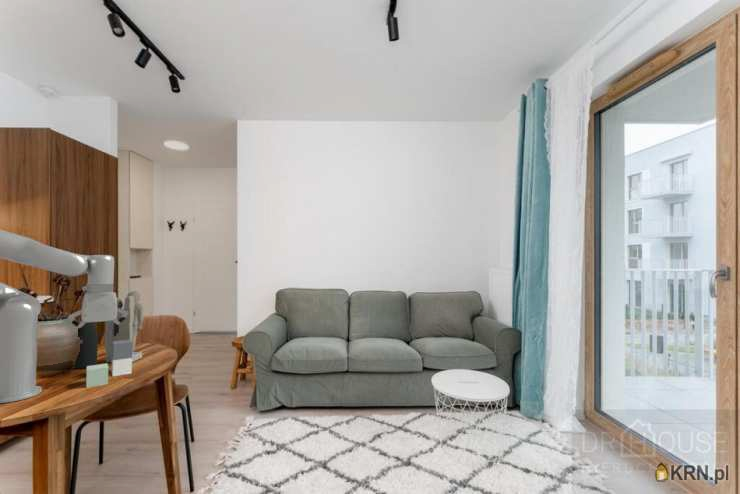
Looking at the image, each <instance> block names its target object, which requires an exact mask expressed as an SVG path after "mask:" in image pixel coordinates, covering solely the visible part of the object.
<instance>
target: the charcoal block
mask: <svg viewBox="0 0 740 494" xmlns="http://www.w3.org/2000/svg"><path fill="white" fill-rule="evenodd" d="M132 345H133V342H132V341H131V339H130V340H121V341H113V342H112V358H113V360H120V359H127V358H132Z"/></svg>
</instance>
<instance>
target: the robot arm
mask: <svg viewBox="0 0 740 494" xmlns="http://www.w3.org/2000/svg"><path fill="white" fill-rule="evenodd" d="M0 259H1V260H2V259H3V260H6V261H10V262H13V263H16V264H20V265H24V266H30V267H33V268H37V269H41V270H45V271H48V272H53V273H56V274H59V275H64V276H68V277H77V276H81V275H87V285H85V286H82V287H81V290H82V291H86V292H85V293H86V294H85V295H84V298H83V297H82V304H81V305H82V306H81V309H80V310H77V311H75V312H73V313H72V314H68V316H67V317H68V319H69V321H70V322H71V324H72V325H74V326H75V327H78V337H80V340H82V339H83V325H84V324H85V323H86V322H93V323H97V322H100V323H101V322H105V321H114V322H115V324H114V330H113V335H114V336H117V333H119V324H120V323H121V322H122V321H123V320H125V318H126V316H127V315H128V312H127V311H125V310H122V309H123V308H121V309H119V308H117V298H118V296H117V293H116V292H114V282H115V281H114V278H115V257H114V256H113V255H110V254H93V255H89V254H88V255H87V254H80V253H79V254H78V253H74V252H70V251H67V250H64V249H60V248H57V247H55V246H54V247H53V246H49V245H47V244H43V243H42V242H39V241H37V240H35V239H33V238H30V237H27V236H24V235H23V236H22V235H21V234H20V235H19V234H17V233H13V232H9V231H6V230H3V229H0ZM41 311H42V305H41V302H40V301H39V299H37V298H36V297H34V296H32V295H31V294H28V293H26V292H24V291H22V290H18V289H17V288H14V287H12V286H9V285H8V284H5V283H4V282H0V404H5V403H13V402H17V401H23V400H26V399H29V398H33V397H35V396H37V395H39V394H41V392H43V391H42V389H43V387H42V386H39V385H36V384H37V361H38V360H37V359H38V317H39V315H40V313H41ZM117 312H120V313H122V314H123V315H122V317H121V318H120V319H118V320H117V319H116V318H117ZM80 315H81V318H82V321H81V320H80V321H81V322H78V321H77V320H76V317H78V316H80Z"/></svg>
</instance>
